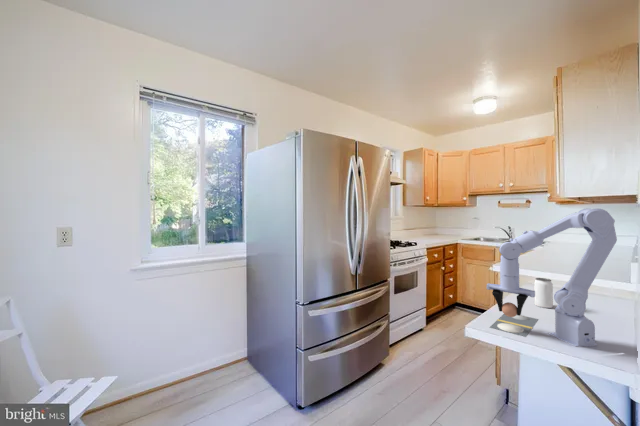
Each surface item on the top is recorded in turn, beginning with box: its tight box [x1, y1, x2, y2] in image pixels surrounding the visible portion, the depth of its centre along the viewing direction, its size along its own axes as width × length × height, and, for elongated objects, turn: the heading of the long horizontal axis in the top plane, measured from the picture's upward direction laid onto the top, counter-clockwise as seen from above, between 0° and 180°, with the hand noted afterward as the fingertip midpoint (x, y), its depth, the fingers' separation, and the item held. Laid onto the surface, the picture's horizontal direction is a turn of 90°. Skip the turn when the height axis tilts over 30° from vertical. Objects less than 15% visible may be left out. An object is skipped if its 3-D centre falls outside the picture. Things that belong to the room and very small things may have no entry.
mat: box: [489, 313, 539, 338], centre depth 106 cm, size 22×11×1 cm, turn 133°
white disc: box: [497, 323, 524, 334], centre depth 101 cm, size 8×8×1 cm
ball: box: [501, 302, 517, 317], centre depth 101 cm, size 5×5×5 cm
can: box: [533, 277, 554, 309], centre depth 125 cm, size 6×6×12 cm
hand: (509, 312), depth 101 cm, fingers closed on ball, 5 cm apart
